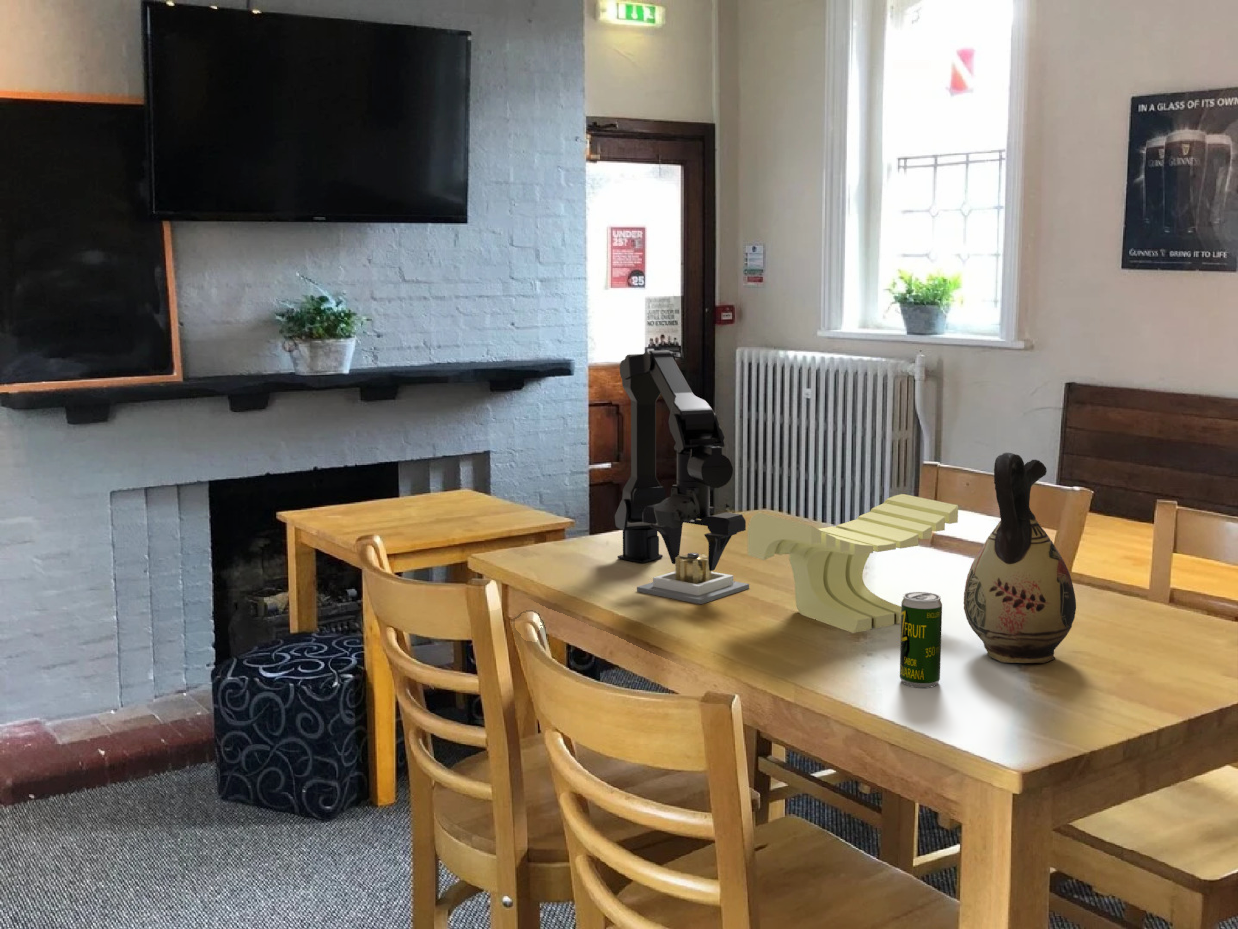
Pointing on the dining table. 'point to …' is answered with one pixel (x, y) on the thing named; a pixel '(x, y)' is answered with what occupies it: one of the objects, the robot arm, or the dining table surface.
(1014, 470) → the ceramic jug
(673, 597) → the carrier plate
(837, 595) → the slatted curved stool
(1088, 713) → the dining table surface
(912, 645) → the green soda can
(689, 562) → the gear
